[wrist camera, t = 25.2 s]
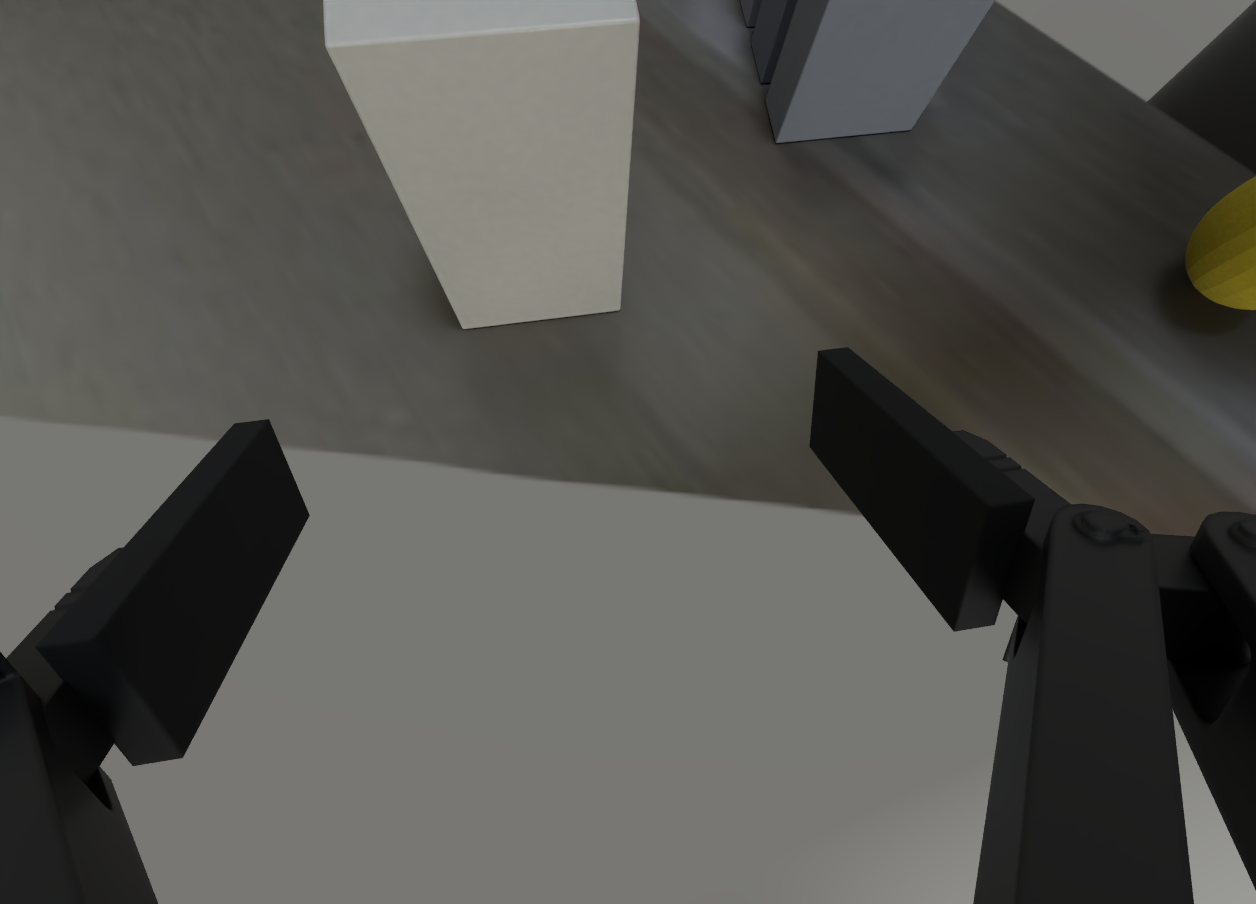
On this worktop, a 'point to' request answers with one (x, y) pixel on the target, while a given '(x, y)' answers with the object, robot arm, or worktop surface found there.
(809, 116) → the grey books
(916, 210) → the worktop surface
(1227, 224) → the lemon
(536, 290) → the cream tall block
